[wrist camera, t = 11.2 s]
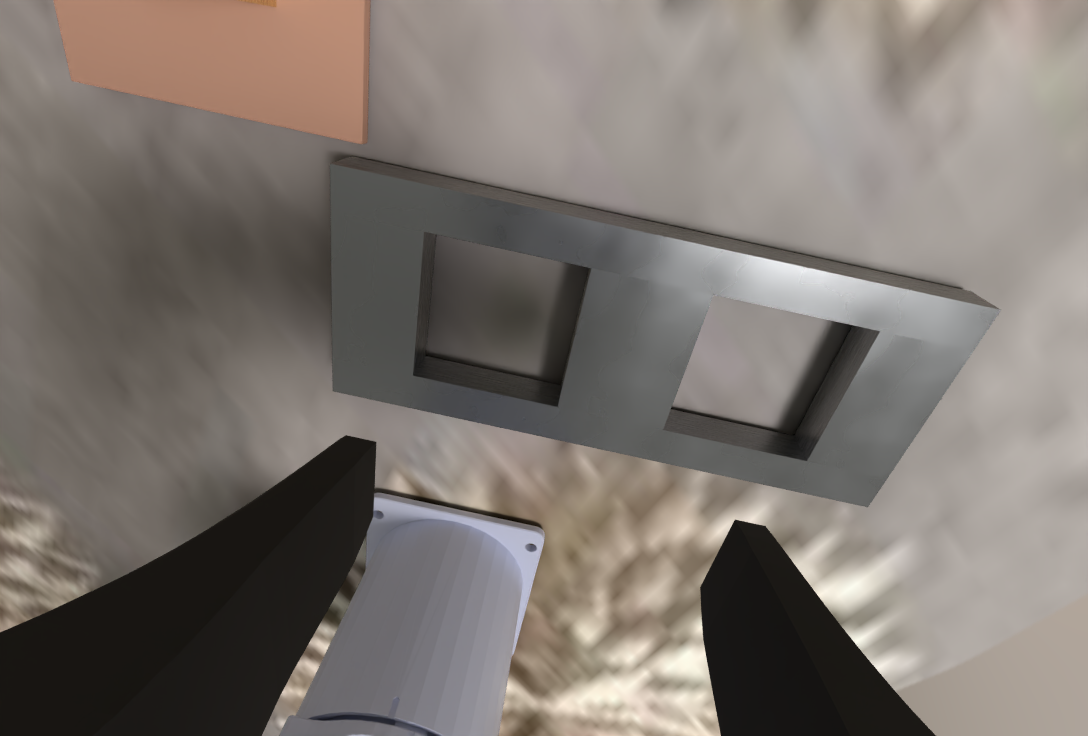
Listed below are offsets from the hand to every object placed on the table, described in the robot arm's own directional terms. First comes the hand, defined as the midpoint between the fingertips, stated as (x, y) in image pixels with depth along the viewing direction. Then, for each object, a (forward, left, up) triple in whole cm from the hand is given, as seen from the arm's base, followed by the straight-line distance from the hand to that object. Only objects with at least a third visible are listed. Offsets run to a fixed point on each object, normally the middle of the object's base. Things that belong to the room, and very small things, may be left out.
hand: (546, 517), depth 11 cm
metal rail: (0, -2, -9) cm, 10 cm away
